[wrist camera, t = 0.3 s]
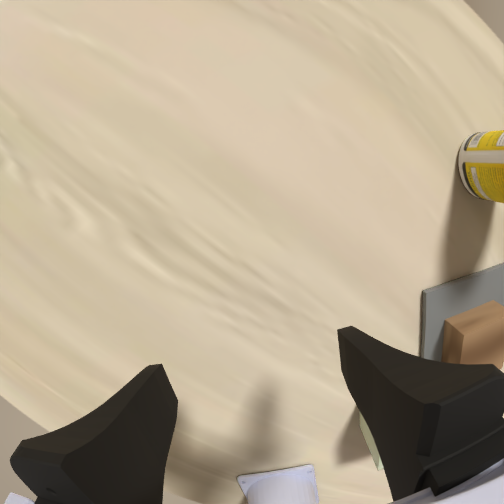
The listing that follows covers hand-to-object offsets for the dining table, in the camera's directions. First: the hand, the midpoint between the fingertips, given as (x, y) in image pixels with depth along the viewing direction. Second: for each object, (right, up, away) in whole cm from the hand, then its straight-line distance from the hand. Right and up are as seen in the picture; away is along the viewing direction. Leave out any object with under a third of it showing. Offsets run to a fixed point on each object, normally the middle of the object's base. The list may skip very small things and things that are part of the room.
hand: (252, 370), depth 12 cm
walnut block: (+20, -3, +11) cm, 23 cm away
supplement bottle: (+18, +12, +8) cm, 23 cm away
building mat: (+20, -3, +12) cm, 23 cm away
